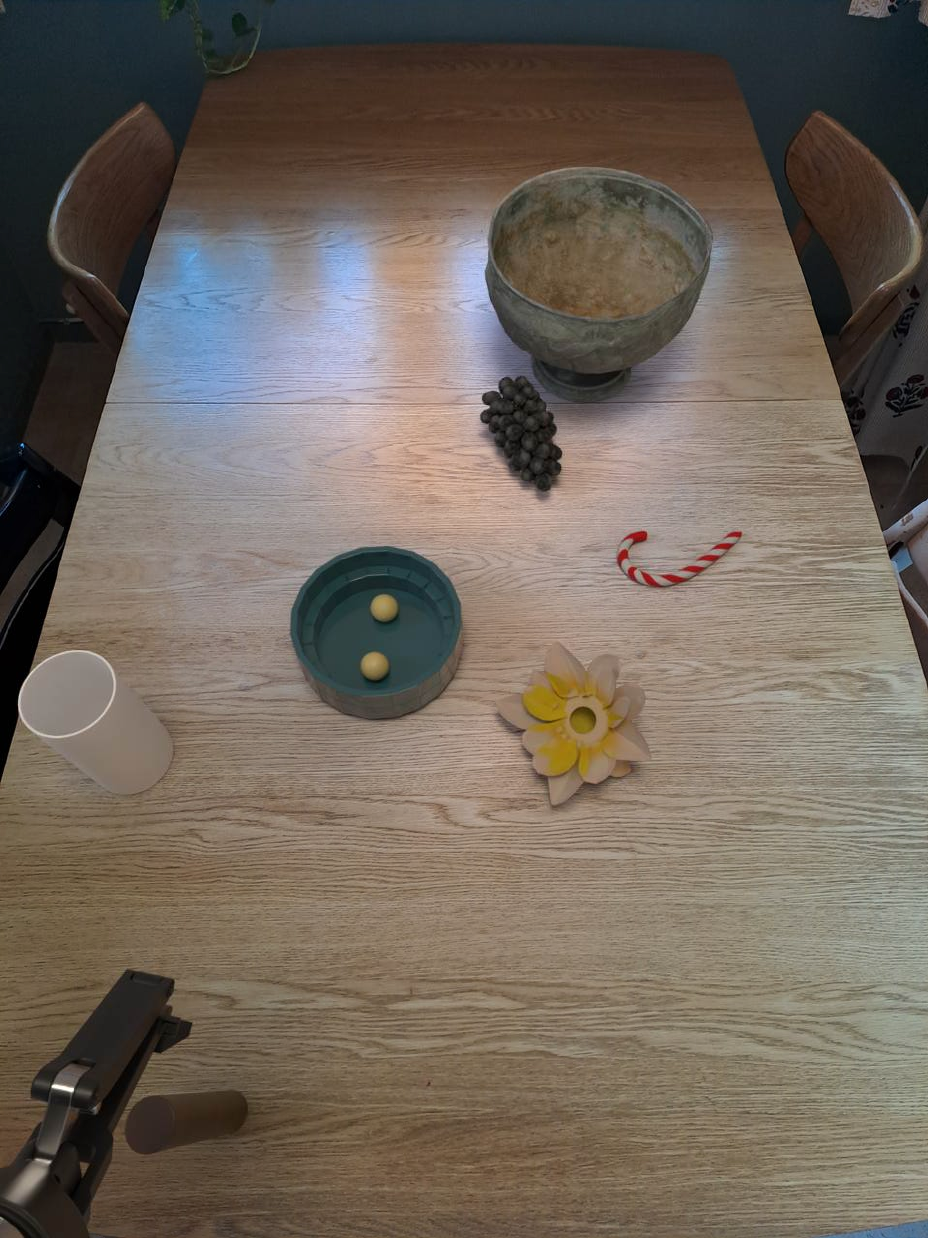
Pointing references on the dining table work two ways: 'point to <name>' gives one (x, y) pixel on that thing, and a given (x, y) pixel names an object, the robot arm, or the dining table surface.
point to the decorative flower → (578, 721)
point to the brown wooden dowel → (183, 1119)
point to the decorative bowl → (594, 274)
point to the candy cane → (676, 576)
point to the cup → (96, 721)
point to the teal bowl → (377, 631)
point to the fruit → (512, 419)
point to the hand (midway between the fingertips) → (130, 1155)
